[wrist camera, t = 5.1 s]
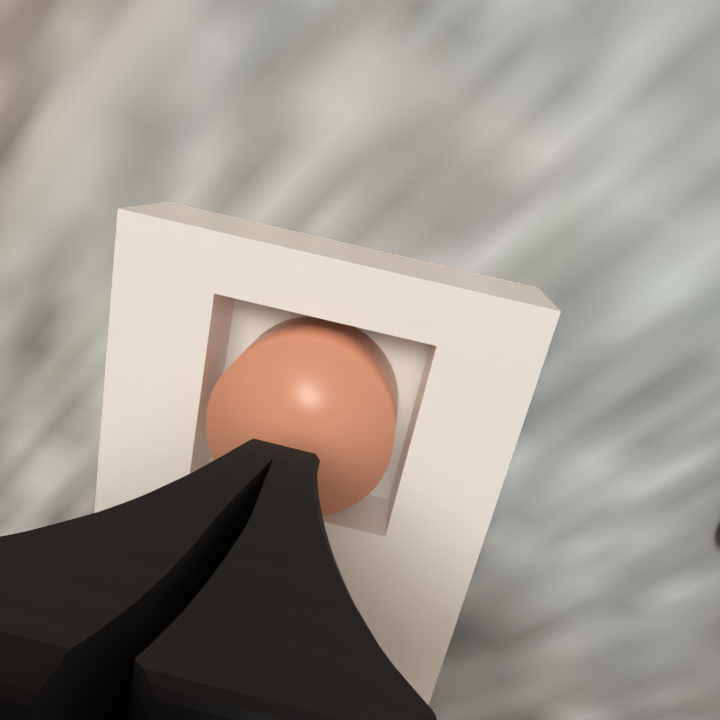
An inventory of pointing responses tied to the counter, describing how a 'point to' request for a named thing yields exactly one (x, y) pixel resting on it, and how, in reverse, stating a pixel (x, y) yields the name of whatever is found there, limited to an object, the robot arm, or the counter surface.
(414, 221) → the counter surface
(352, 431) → the terracotta button
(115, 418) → the button panel
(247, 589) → the robot arm
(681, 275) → the counter surface
